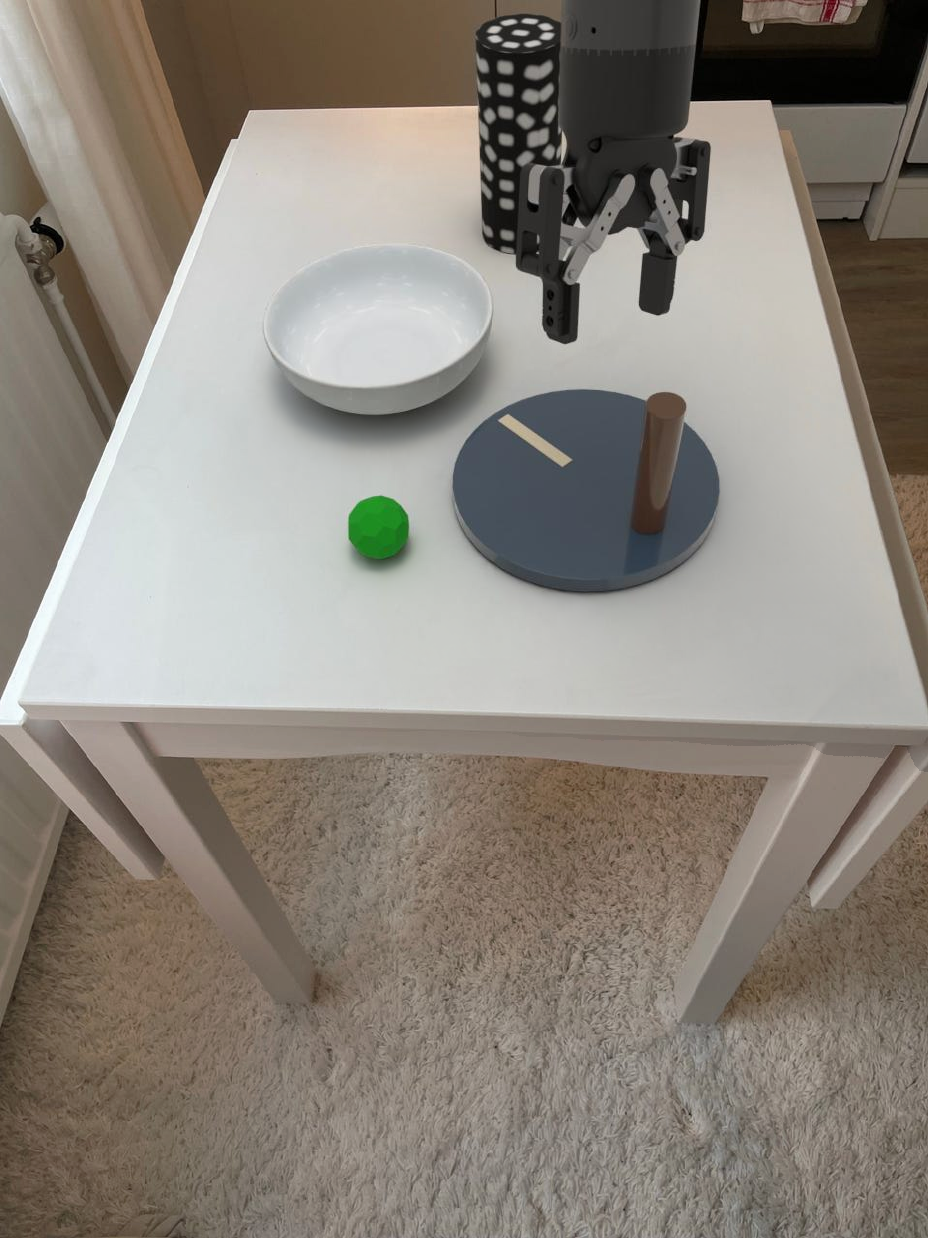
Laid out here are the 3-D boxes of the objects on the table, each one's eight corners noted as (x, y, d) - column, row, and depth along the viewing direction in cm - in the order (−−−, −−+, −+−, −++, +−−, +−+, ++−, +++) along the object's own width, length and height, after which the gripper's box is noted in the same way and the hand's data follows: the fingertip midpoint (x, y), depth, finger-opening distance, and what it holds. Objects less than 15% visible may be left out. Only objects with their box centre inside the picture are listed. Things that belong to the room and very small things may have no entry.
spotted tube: (471, 246, 103) (461, 46, 87) (498, 206, 107) (494, 9, 91) (544, 259, 101) (548, 57, 85) (568, 218, 105) (577, 18, 89)
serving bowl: (238, 361, 93) (220, 300, 88) (414, 278, 100) (407, 217, 94) (353, 479, 83) (340, 419, 77) (540, 378, 89) (541, 315, 84)
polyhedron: (414, 567, 76) (408, 527, 73) (352, 573, 76) (344, 534, 73) (409, 521, 79) (404, 480, 76) (351, 527, 79) (342, 487, 75)
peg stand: (400, 486, 81) (381, 358, 71) (582, 369, 89) (590, 237, 79) (585, 640, 71) (597, 516, 60) (772, 491, 79) (812, 359, 68)
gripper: (582, 50, 47) (569, 367, 57) (763, 31, 54) (725, 316, 64) (486, 43, 52) (489, 336, 61) (663, 26, 59) (641, 291, 68)
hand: (609, 325), depth 63 cm, fingers open, 8 cm apart
